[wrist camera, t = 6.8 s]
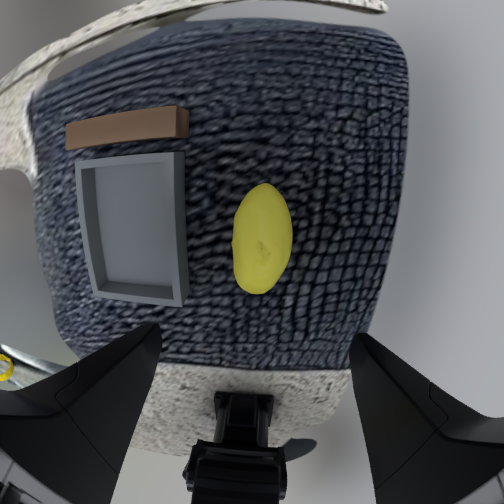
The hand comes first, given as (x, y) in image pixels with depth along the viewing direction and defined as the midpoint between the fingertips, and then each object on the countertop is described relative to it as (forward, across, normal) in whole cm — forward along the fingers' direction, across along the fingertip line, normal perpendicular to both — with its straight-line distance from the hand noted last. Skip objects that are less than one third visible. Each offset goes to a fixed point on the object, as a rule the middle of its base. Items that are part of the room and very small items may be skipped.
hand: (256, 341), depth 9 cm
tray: (+12, +10, 0) cm, 15 cm away
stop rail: (+12, +10, -8) cm, 18 cm away
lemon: (+12, 0, 0) cm, 12 cm away
